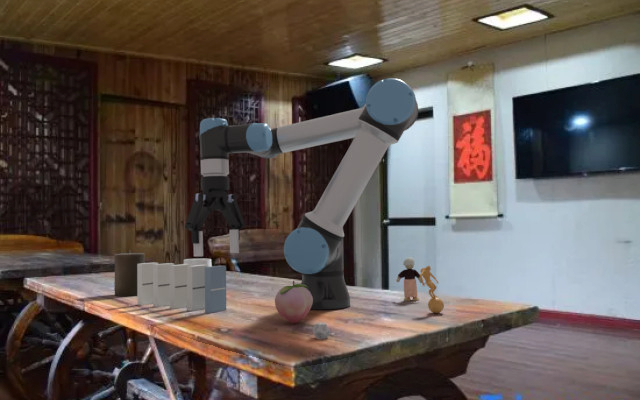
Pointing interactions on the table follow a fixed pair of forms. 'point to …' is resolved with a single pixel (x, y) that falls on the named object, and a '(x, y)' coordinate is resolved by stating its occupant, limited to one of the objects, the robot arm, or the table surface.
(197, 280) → the domino
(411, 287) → the grandmother figurine
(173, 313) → the table surface
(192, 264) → the cup
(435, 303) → the figurine
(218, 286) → the blue domino
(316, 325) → the game die
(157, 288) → the domino
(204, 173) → the robot arm
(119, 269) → the pillar candle
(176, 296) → the domino
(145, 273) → the domino
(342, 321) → the table surface
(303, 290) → the decorative fruit
